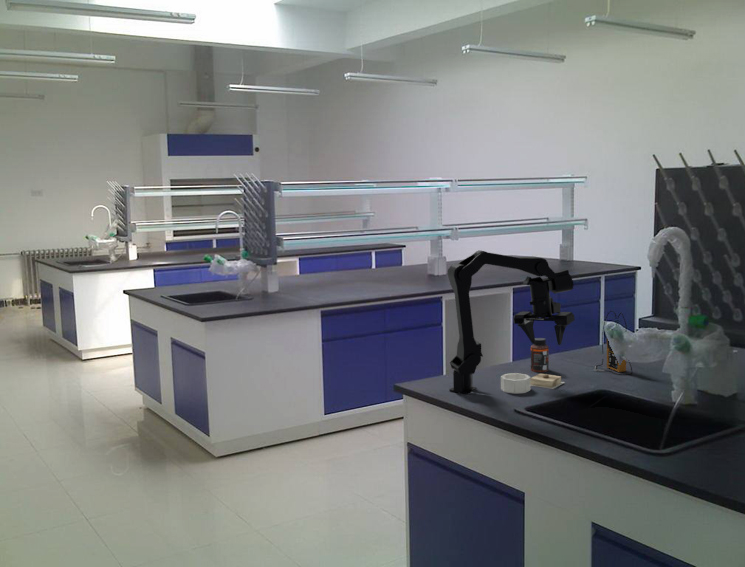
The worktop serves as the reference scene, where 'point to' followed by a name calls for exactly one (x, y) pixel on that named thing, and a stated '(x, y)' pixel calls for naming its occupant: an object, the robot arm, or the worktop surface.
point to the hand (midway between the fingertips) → (546, 344)
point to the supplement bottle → (539, 356)
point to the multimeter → (613, 356)
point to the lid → (545, 380)
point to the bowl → (515, 383)
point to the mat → (549, 387)
